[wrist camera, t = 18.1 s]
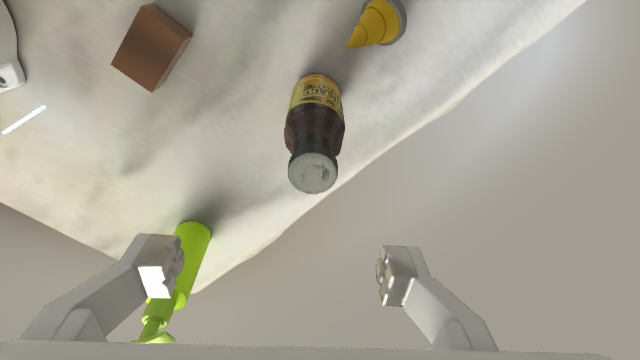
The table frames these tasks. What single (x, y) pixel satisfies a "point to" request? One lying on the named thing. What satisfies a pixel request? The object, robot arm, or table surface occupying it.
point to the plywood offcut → (151, 47)
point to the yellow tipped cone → (379, 23)
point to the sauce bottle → (314, 133)
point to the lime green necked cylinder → (162, 308)
